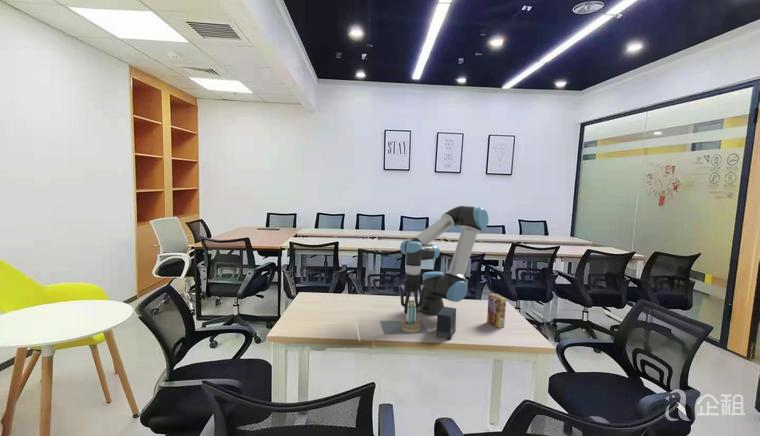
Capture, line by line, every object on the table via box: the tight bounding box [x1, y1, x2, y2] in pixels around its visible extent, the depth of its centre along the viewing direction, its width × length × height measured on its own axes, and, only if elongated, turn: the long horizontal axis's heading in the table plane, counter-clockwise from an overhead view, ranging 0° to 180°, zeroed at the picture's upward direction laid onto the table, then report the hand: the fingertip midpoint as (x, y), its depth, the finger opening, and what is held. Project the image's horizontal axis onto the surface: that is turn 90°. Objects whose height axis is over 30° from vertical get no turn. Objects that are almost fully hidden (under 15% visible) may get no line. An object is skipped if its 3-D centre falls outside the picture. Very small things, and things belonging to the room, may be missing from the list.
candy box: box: [486, 293, 507, 329], centre depth 185 cm, size 9×4×15 cm, turn 26°
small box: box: [436, 306, 457, 341], centre depth 169 cm, size 13×7×12 cm, turn 157°
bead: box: [401, 319, 420, 332], centre depth 174 cm, size 9×9×3 cm
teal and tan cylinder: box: [408, 299, 415, 324], centre depth 174 cm, size 3×3×14 cm
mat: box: [379, 319, 430, 335], centre depth 176 cm, size 22×17×1 cm
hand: (410, 319), depth 174 cm, fingers open, 3 cm apart
